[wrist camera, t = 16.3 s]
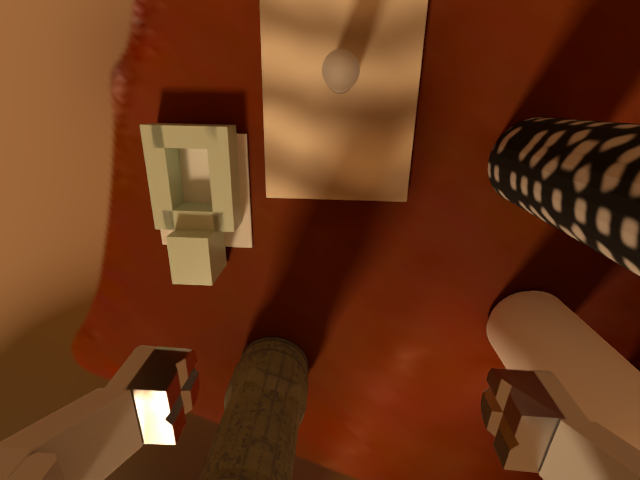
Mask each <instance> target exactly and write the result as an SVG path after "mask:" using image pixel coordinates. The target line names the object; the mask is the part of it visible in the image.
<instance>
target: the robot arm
mask: <svg viewBox="0 0 640 480" xmlns="http://www.w3.org/2000/svg"><path fill="white" fill-rule="evenodd" d="M196 362H197V357H196V351H194V350H193V349H183V348H172V347H160V346H159V347H156V346H145V345H141V346H139V347H137V348H136V349H135V350H134V351H133V353H132V354H131V355H130V356H129V358H128V359H127V360H126V361H125V363H124V364H123V365H122V367H121V368H120V369H119V370H118V372H117V373H116V374H115V375H114V377H113V378H112V379H111V380H110V382H109V383H108V384H107V385H106V387H105V388H98V389H96V390H94V391H92V392H90V393H89V394H87V395H85V396H83V397H81V398H79V399H78V400H76V401H74V402H72V403H70V404H68V405H67V406H65V407H63V408H61V409H59V410H58V411H56V412H54V413H52V414H50V415H48V416H47V417H45V418H43V419H41V420H39V421H38V422H36V423H34V424H32V425H30V426H29V427H27V428H25V429H23V430H21V431H19V432H18V433H16V434H14V435H12V436H10V437H8V438H7V439H5V440H3V441H1V442H0V480H104V479H105V478H106V477H107V476H108V475H110V474H111V473H112V472H113V471H114V470H115V469H116V468H118V467H119V466H120V465H121V464H122V463H123V462H124V461H125V460H127V459H128V458H129V457H130V456H131V455H133V453H135V452H136V451H137V450H138V449H139V448H141V447H142V446H143V443H146V444H168V445H176V443H177V441H178V439H179V437H180V434H181V432H182V430H183V428H184V426H185V424H186V419H185V414H186V413H187V412H189V411H190V410H191V409H193V407H194V404H195V402H196V400H197V396H198V391H199V382H200V380H199V373H198V372H197V371H196V370H195V369H194V366H195V364H196ZM487 381H488V384H489V386H490V387H489V388H488V389H486V390H485V391H484V392H483V395H482V399H481V413H482V417H483V421H484V424H485V426H486V429H487V430H488V431H489V432H491V433H492V434H493V435H494V436H495V440H494V444H493V445H494V448H495V450H496V452H497V455H498V457H499V459H500V462H501V464H502V466H503V469H507V470H517V471H526V472H536V473H539V475H540V476H541V477H542V478H543V479H544V480H640V450H638V449H637V448H635V447H634V446H632V445H631V444H629V443H628V442H626V441H625V440H623V439H621V438H620V437H618V436H617V435H615V434H614V433H612V432H611V431H609V430H608V429H606V428H605V427H603V426H602V425H600V424H599V423H597V422H592V421H589V420H588V418H587V417H586V416H585V414H584V413H583V412H582V410H581V409H580V408H579V406H578V405H577V404H576V402H575V401H574V400H573V398H572V397H571V396H570V394H569V393H568V392H567V390H566V389H565V388H564V386H563V385H562V384H561V382H560V381H559V380H558V378H557V377H556V376H555V374H554V373H552V372H550V371H541V370H514V369H497V368H492V369H491V370H490V371H489V373H488V376H487Z"/></svg>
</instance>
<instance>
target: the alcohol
mask: <svg viewBox="0 0 640 480" xmlns="http://www.w3.org/2000/svg"><path fill="white" fill-rule="evenodd" d="M486 331H487V337H488V339H489V341H490V343H491V345H492V346H493V348H494V350H495V351H496V353H497V354H498V356H499V357H500V359H501V361H502V362H503V364H504V365H505V367H506V369H514V370H541V371H550V372H552V373H554V374H555V376H556V377H557V378H558V380H559V381H560V382H561V384H562V385H563V386H564V388H565V389H566V390H567V392H568V393H569V394H570V396H571V397H572V398H573V400H574V401H575V402H576V404H577V405H578V406H579V408H580V409H581V410H582V412H583V413H584V414H585V416H586V417H587V418H588V420H589V421H592V422H597V423H599V424H600V425H602V426H603V427H605V428H606V429H608V430H609V431H611V432H612V433H614V434H615V435H617V436H618V437H620V438H621V439H623V440H625V441H626V442H628V443H629V444H631V445H632V446H634V447H635V448H637V449H638V450H640V371H638V370H637V369H636V368H635V367H634V366H633V365H632V364H631V363H629V362H628V361H627V360H626V359H625V358H624V357H623V356H622V355H621V354H619V353H618V352H617V351H616V350H615V349H614V348H613V347H612V346H610V345H609V344H608V343H607V342H606V341H605V340H604V339H603V338H601V337H600V336H599V335H598V334H597V333H596V332H595V331H594V330H593V329H591V328H590V327H589V326H588V325H587V324H586V323H585V322H584V321H582V320H581V319H580V318H579V317H578V316H577V315H576V314H575V313H573V312H572V311H571V310H570V309H569V308H568V307H567V306H566V305H565V304H563V303H562V302H561V301H560V300H559V299H558V298H557V297H555V296H553V295H551V294H549V293H546V292H542V291H522V292H518V293H514V294H512V295H509V296H507V297H506V298H504V299H503V300H501V301H500V302H499V303H498V304H497V305H496V306H495V307H494V309H493V310H492V312H491V314H490V316H489V319H488V322H487V329H486Z"/></svg>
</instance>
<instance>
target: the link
mask: <svg viewBox="0 0 640 480" xmlns="http://www.w3.org/2000/svg"><path fill="white" fill-rule="evenodd" d="M140 130H141V137H142V144H143V150H144V157H145V164H146V170H147V177H148V184H149V190H150V197H151V204H152V210H153V217H154V224H155V229H163V230H174V231H173V232H172V233H170V234H169V235H168V236H166V240H167V247H168V254H169V261H170V269H171V276H172V283H173V284H188V285H213V284H214V282H215V281H216V279H217V278H218V276H219V275H220V274H221V272H222V271H223V269H224V268H225V266H226V265H227V261H226V249H225V236H224V232H235V231H236V229H237V228H238V227H239V226H240V224H241V223H242V217H241V200H240V183H239V166H238V150H237V133H236V125H220V124H178V123H151V124H142V125H140ZM178 148H186V149H207V153H208V164H209V175H210V187H211V198H212V204H207V203H185V202H184V193H183V185H182V176H181V168H180V159H179V150H178Z"/></svg>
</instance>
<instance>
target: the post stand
mask: <svg viewBox="0 0 640 480" xmlns="http://www.w3.org/2000/svg"><path fill="white" fill-rule="evenodd" d="M427 6H428V0H260V27H261V56H262V86H263V115H264V145H265V174H266V198H298V199H330V200H363V201H395V202H407V193H408V183H409V174H410V165H411V155H412V146H413V137H414V127H415V118H416V109H417V99H418V90H419V81H420V71H421V62H422V53H423V43H424V34H425V25H426V15H427Z"/></svg>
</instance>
